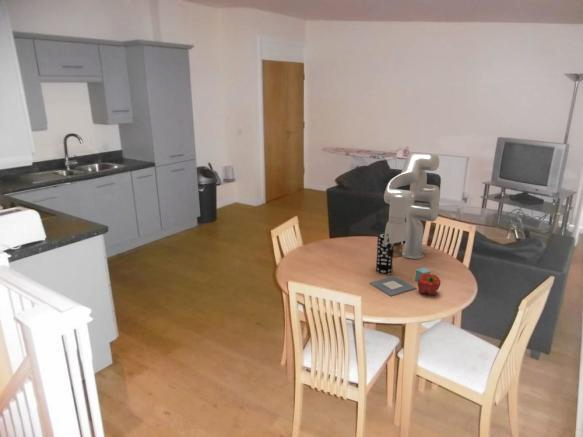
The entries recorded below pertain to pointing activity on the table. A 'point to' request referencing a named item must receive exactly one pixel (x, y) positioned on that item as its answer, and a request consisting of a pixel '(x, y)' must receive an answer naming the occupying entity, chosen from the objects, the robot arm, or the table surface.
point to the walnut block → (397, 250)
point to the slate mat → (392, 285)
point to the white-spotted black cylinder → (383, 257)
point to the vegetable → (428, 283)
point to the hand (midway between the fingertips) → (394, 254)
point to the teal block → (420, 272)
